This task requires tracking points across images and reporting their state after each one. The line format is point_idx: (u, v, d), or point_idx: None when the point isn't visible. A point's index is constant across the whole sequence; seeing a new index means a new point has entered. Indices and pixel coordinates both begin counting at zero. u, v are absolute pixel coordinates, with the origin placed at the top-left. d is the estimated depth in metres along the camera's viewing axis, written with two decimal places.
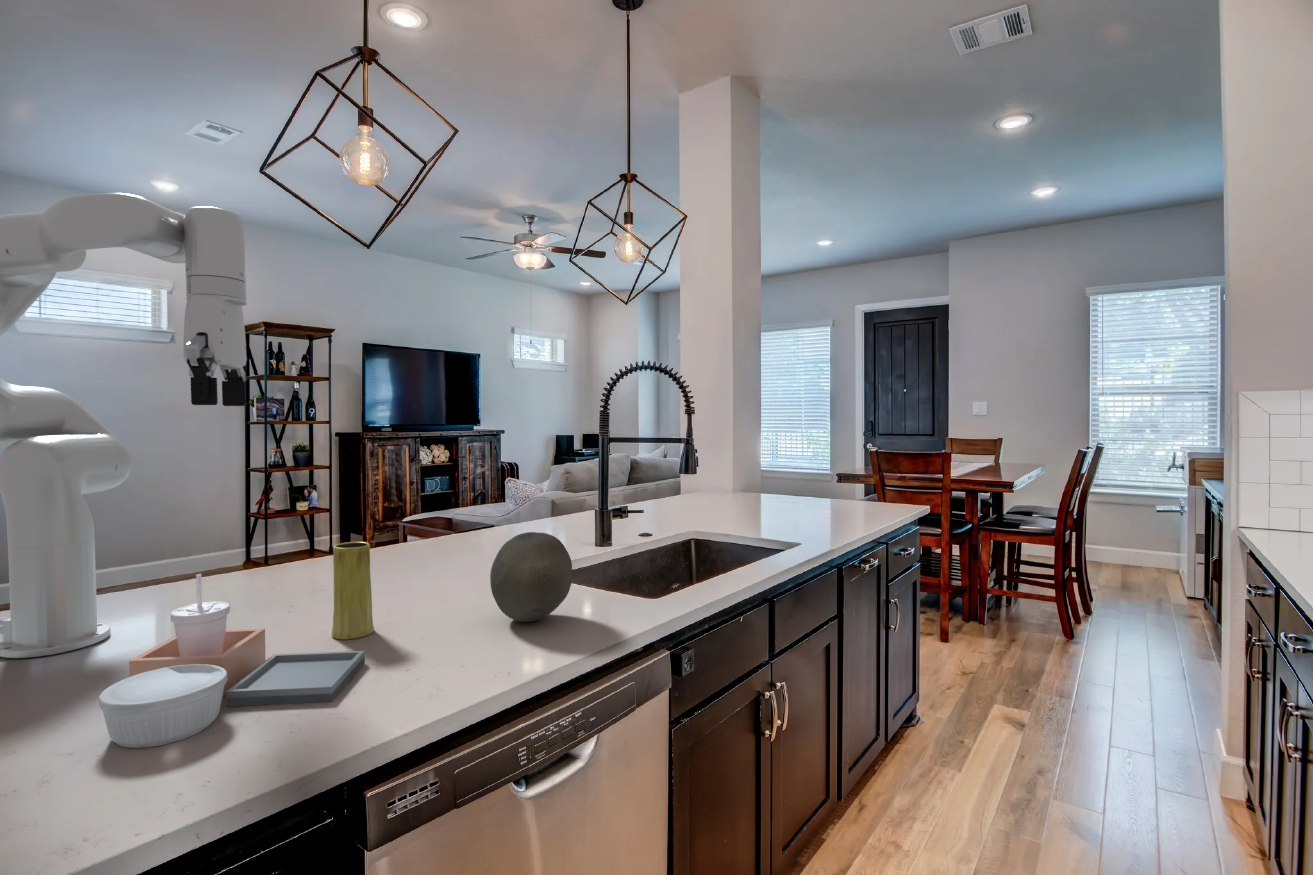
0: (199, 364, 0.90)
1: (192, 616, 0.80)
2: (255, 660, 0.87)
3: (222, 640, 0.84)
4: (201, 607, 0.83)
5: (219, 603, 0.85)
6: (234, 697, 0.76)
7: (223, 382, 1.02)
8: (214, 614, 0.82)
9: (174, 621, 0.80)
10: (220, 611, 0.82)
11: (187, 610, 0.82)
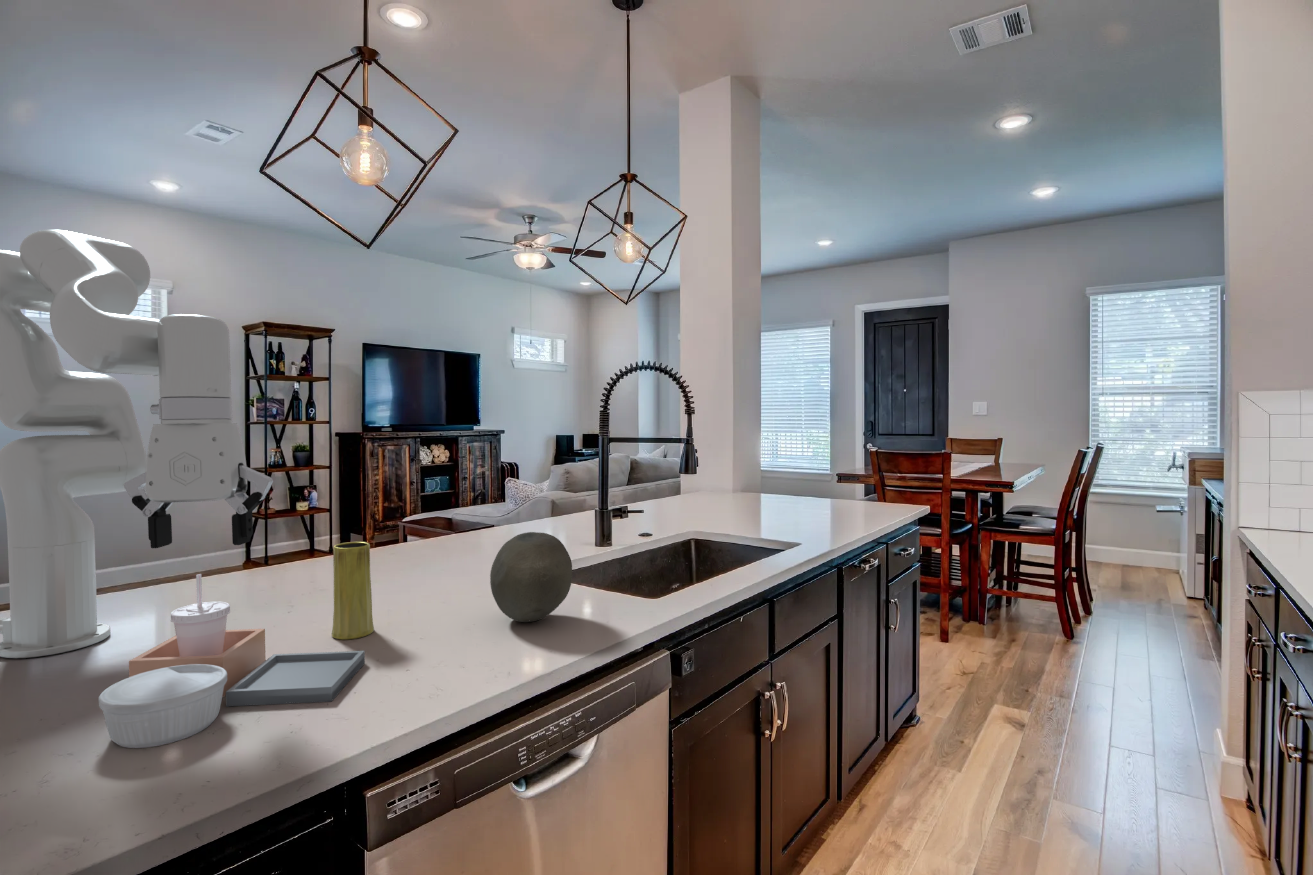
0: (264, 498, 0.84)
1: (192, 616, 0.80)
2: (255, 660, 0.87)
3: (222, 640, 0.84)
4: (201, 607, 0.83)
5: (219, 603, 0.85)
6: (234, 697, 0.76)
7: (156, 518, 0.81)
8: (214, 614, 0.82)
9: (174, 621, 0.80)
10: (220, 611, 0.82)
11: (187, 610, 0.82)
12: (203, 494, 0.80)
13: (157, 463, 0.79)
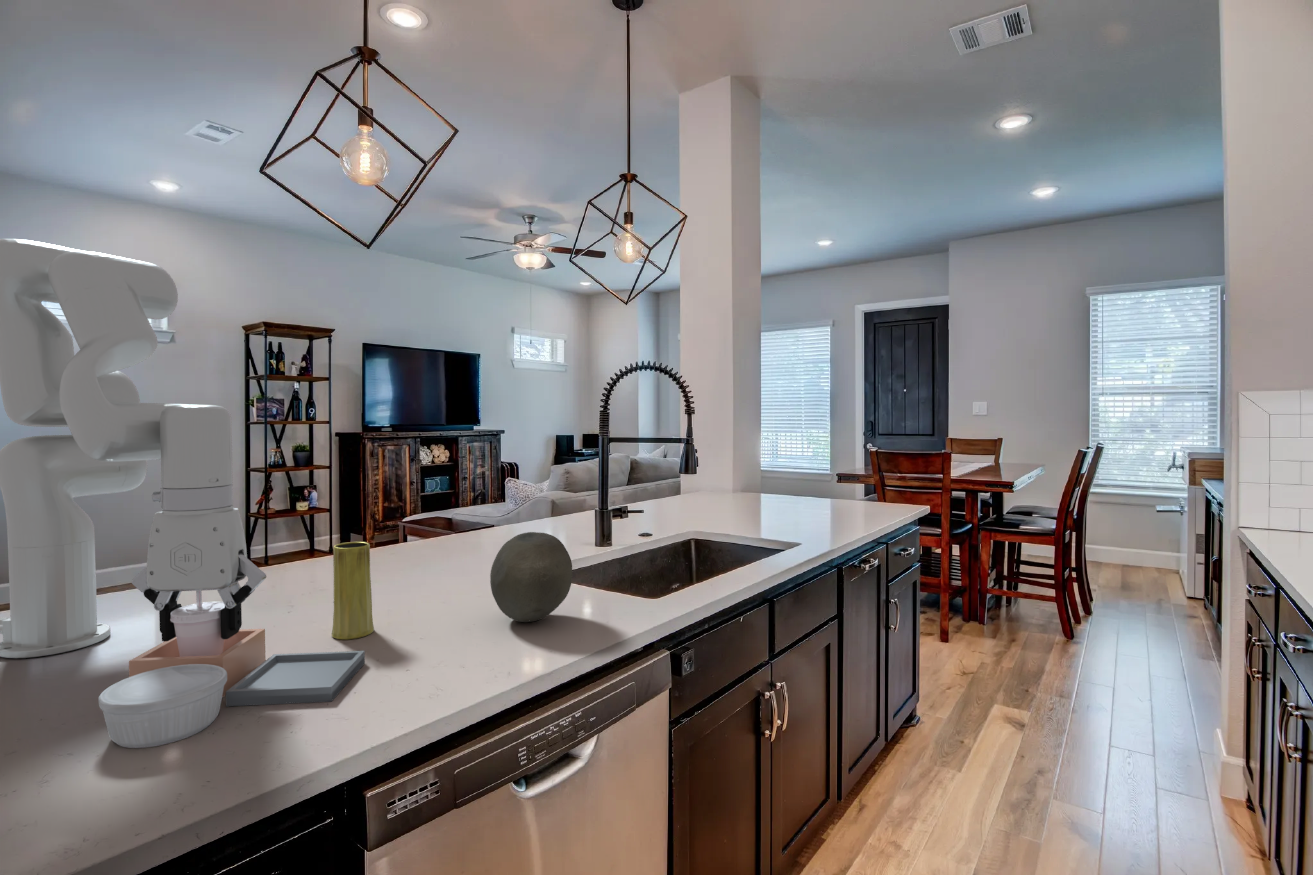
0: (252, 591, 0.84)
1: (192, 616, 0.80)
2: (255, 660, 0.87)
3: (222, 640, 0.84)
4: (201, 607, 0.83)
5: (219, 603, 0.85)
6: (234, 697, 0.76)
7: (167, 612, 0.81)
8: (214, 614, 0.82)
9: (174, 621, 0.80)
10: None
11: (187, 610, 0.82)
12: (203, 584, 0.80)
13: (158, 553, 0.80)
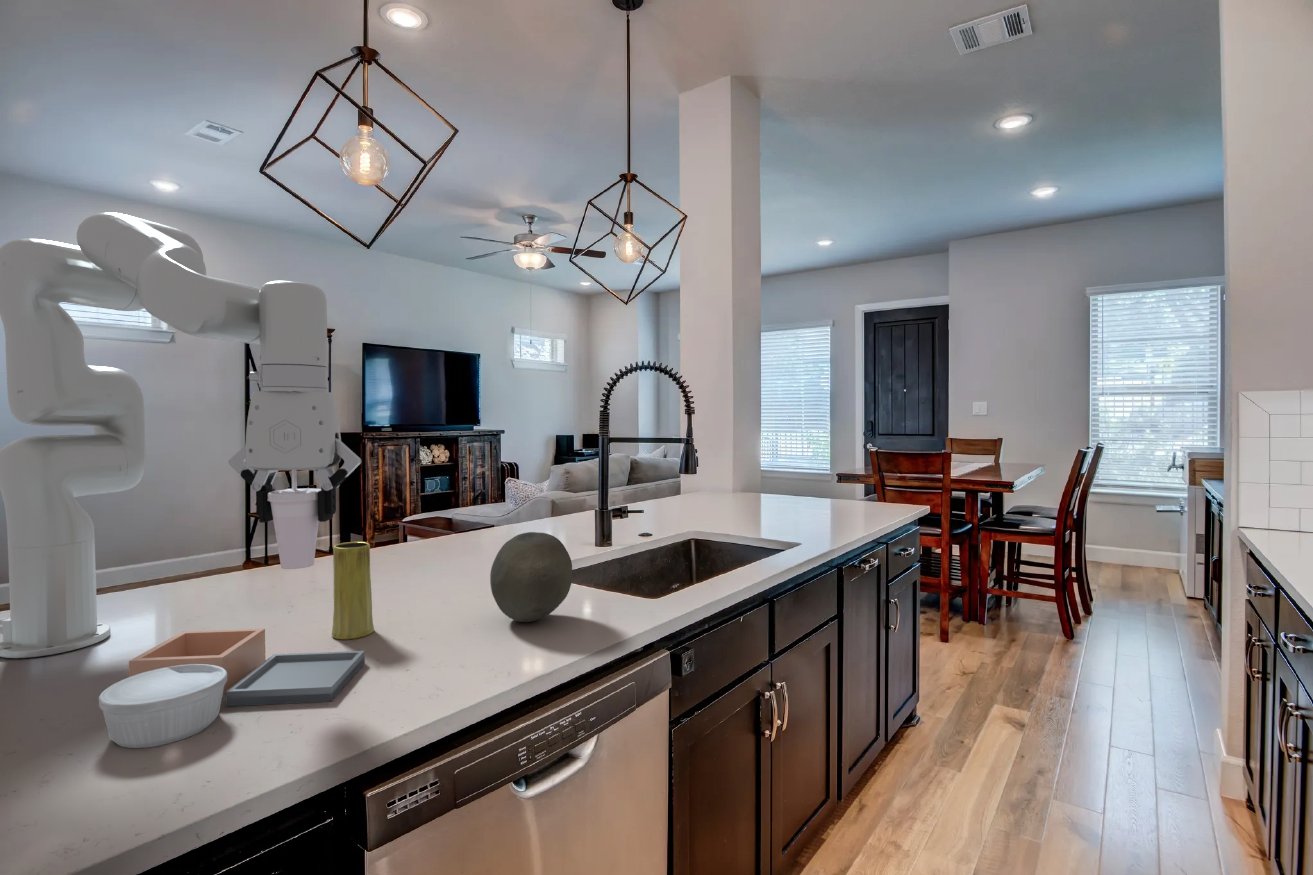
0: (347, 476, 0.83)
1: (291, 495, 0.79)
2: (255, 660, 0.87)
3: (317, 524, 0.83)
4: (296, 490, 0.82)
5: (312, 489, 0.84)
6: (234, 697, 0.76)
7: (264, 493, 0.80)
8: (311, 495, 0.81)
9: (272, 500, 0.79)
10: (316, 493, 0.81)
11: (283, 492, 0.81)
12: (302, 463, 0.79)
13: (257, 430, 0.79)
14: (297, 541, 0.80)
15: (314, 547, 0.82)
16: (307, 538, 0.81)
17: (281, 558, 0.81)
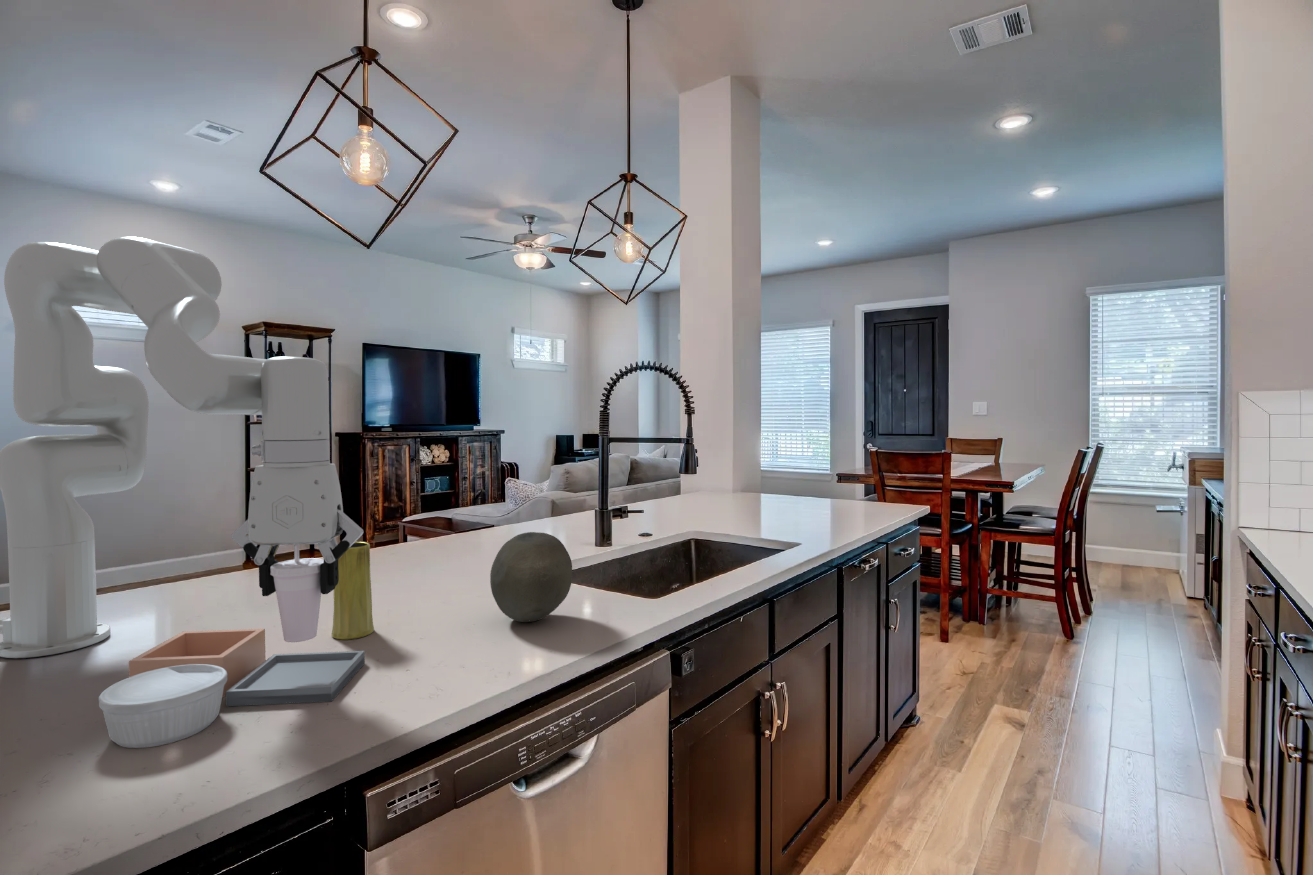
0: (349, 547, 0.84)
1: (293, 569, 0.79)
2: (255, 660, 0.87)
3: (320, 596, 0.83)
4: (299, 562, 0.82)
5: (314, 559, 0.85)
6: (234, 697, 0.76)
7: (267, 566, 0.81)
8: (314, 568, 0.81)
9: (275, 575, 0.80)
10: (319, 566, 0.82)
11: (286, 565, 0.81)
12: (305, 537, 0.80)
13: (260, 506, 0.79)
14: (300, 614, 0.81)
15: (316, 618, 0.83)
16: (310, 611, 0.81)
17: (284, 631, 0.81)
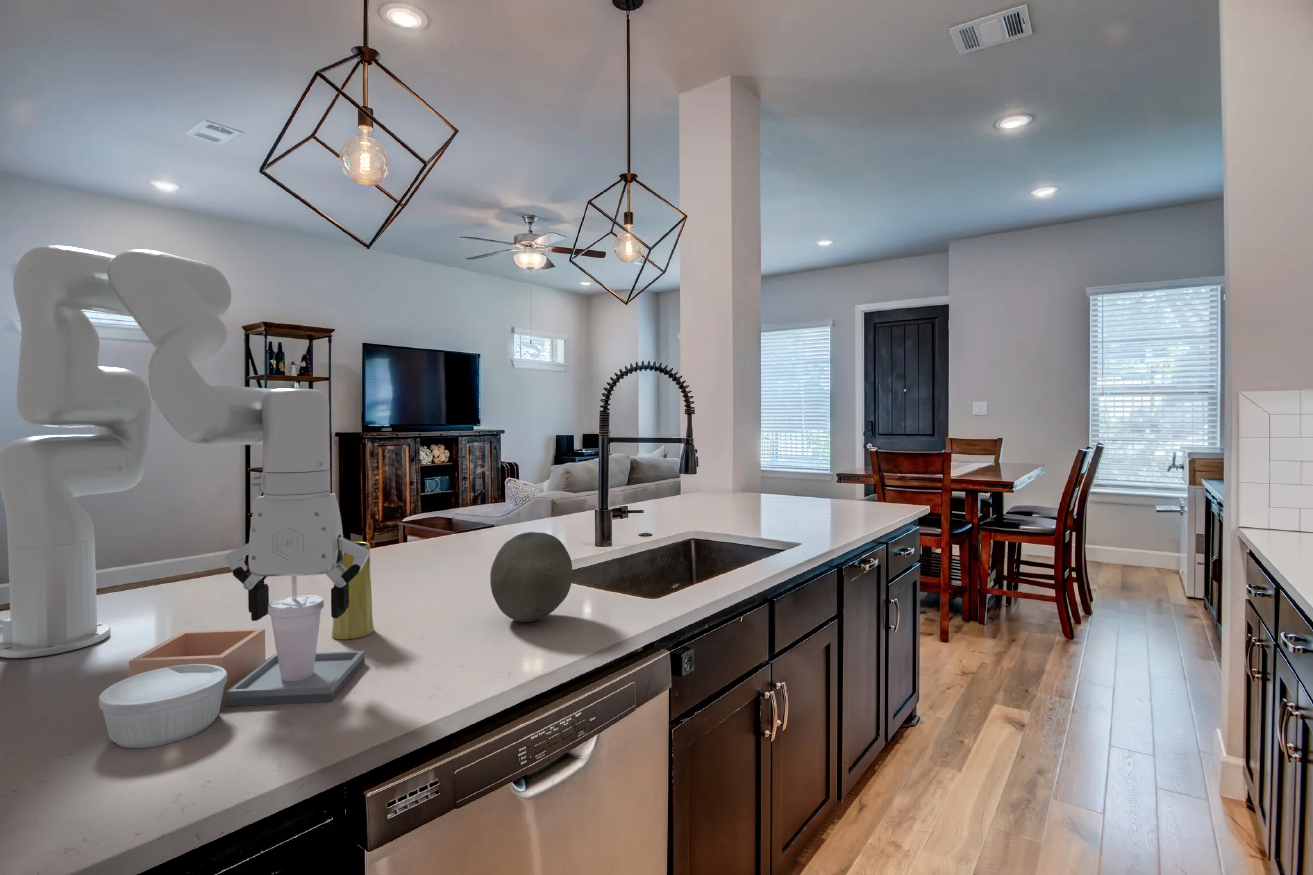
0: None
1: (291, 609, 0.80)
2: (255, 660, 0.87)
3: (317, 634, 0.83)
4: (296, 601, 0.82)
5: (312, 597, 0.85)
6: (234, 697, 0.76)
7: (256, 591, 0.81)
8: (311, 608, 0.81)
9: (272, 614, 0.80)
10: (316, 605, 0.82)
11: (283, 603, 0.82)
12: (305, 569, 0.80)
13: (260, 537, 0.79)
14: (297, 654, 0.81)
15: (313, 657, 0.83)
16: (307, 650, 0.82)
17: (281, 670, 0.81)
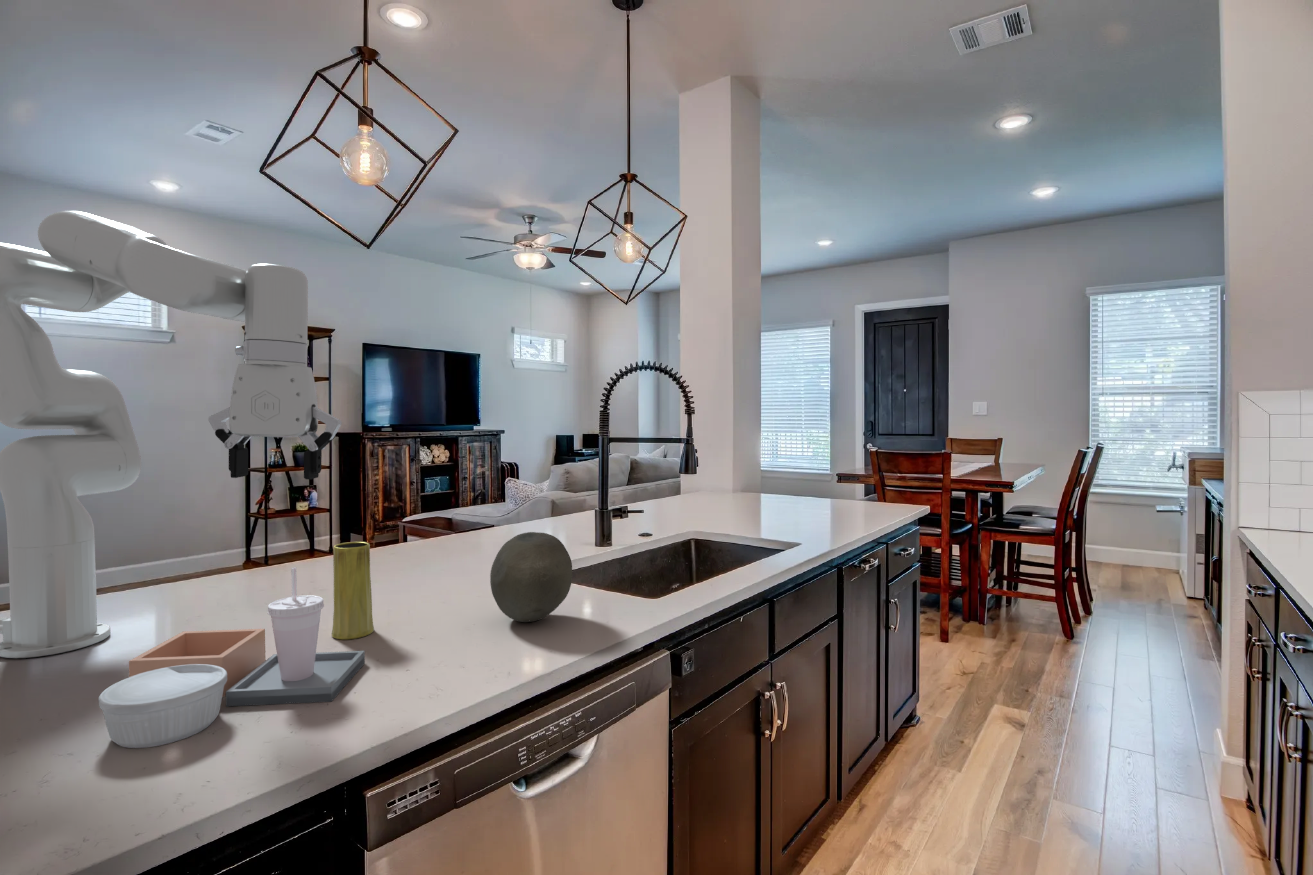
0: (333, 438, 0.91)
1: (291, 609, 0.80)
2: (255, 660, 0.87)
3: (317, 634, 0.83)
4: (296, 601, 0.82)
5: (312, 597, 0.85)
6: (234, 697, 0.76)
7: (236, 450, 0.88)
8: (311, 608, 0.81)
9: (272, 614, 0.80)
10: (316, 605, 0.82)
11: (283, 603, 0.82)
12: (280, 430, 0.87)
13: (240, 399, 0.86)
14: (297, 654, 0.81)
15: (313, 657, 0.83)
16: (307, 650, 0.82)
17: (281, 670, 0.81)
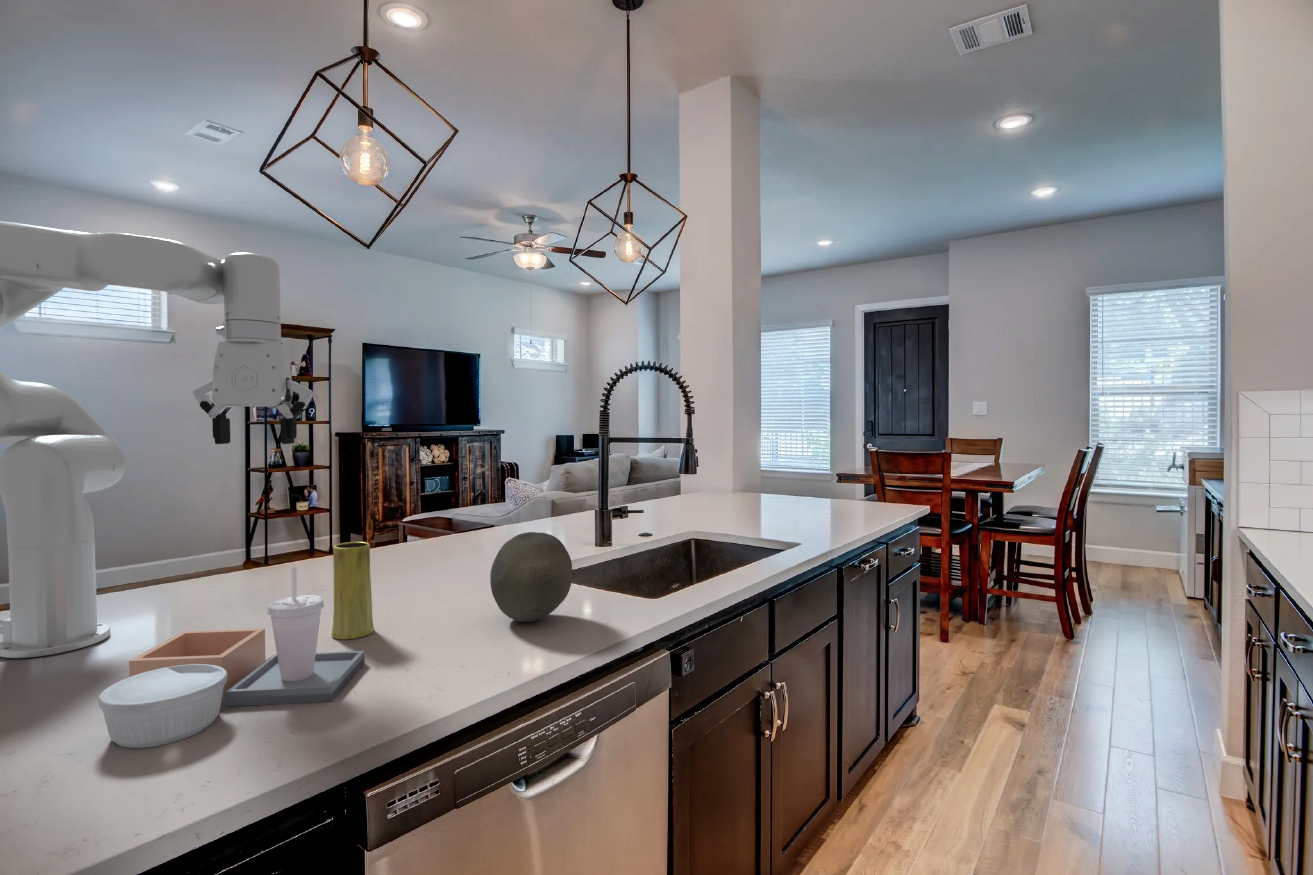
0: (306, 407, 1.02)
1: (291, 609, 0.80)
2: (255, 660, 0.87)
3: (317, 634, 0.83)
4: (296, 601, 0.82)
5: (312, 597, 0.85)
6: (234, 697, 0.76)
7: (219, 420, 0.99)
8: (311, 608, 0.81)
9: (272, 614, 0.80)
10: (316, 605, 0.82)
11: (283, 604, 0.82)
12: (258, 400, 0.98)
13: (222, 373, 0.97)
14: (297, 654, 0.81)
15: (313, 657, 0.83)
16: (307, 650, 0.82)
17: (281, 670, 0.81)
